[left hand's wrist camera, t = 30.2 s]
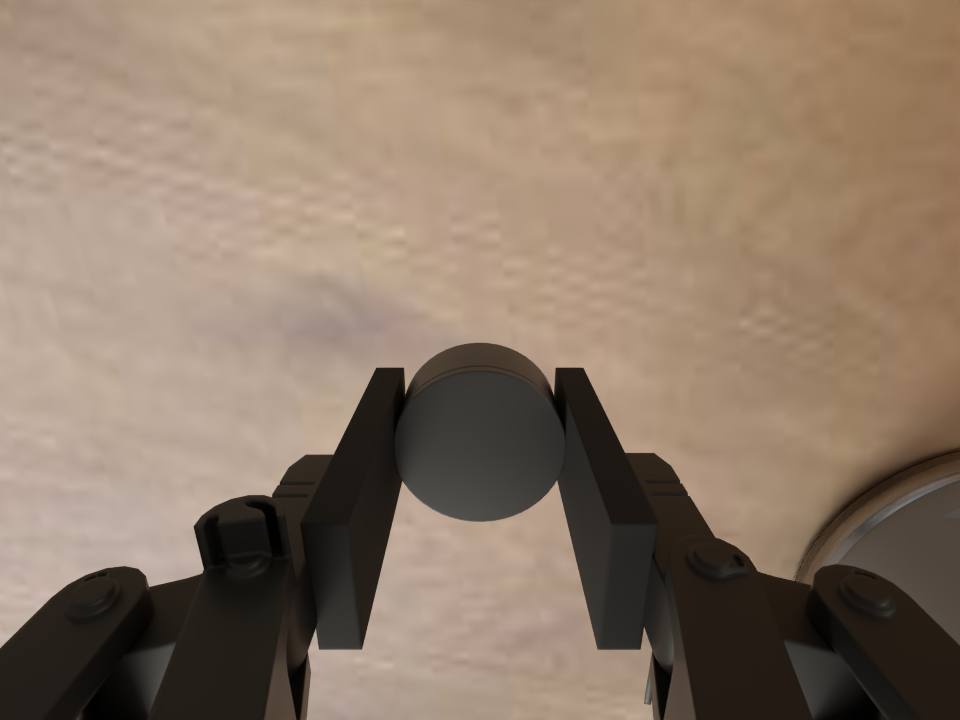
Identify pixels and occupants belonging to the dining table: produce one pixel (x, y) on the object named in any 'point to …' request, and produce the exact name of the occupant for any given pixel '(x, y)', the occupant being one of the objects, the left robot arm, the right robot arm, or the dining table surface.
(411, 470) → the cap
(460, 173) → the dining table surface
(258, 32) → the dining table surface
